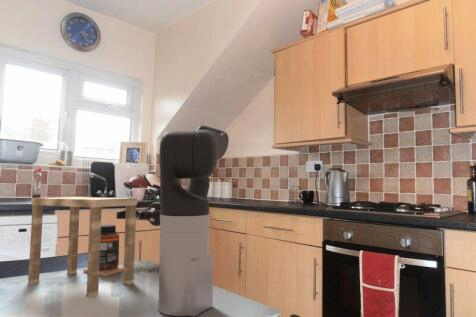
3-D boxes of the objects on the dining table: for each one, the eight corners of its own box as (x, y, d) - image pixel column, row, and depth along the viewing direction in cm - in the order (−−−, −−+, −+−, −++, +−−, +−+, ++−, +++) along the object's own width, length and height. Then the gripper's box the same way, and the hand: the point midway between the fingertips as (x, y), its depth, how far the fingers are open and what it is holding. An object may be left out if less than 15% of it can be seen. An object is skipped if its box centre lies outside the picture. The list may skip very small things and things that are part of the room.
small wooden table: (134, 282, 78) (137, 198, 80) (91, 297, 68) (95, 199, 70) (72, 272, 88) (76, 197, 90) (26, 283, 78) (31, 198, 80)
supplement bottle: (107, 264, 94) (109, 223, 95) (123, 266, 91) (124, 224, 92) (89, 269, 88) (91, 225, 89) (105, 271, 86) (107, 227, 87)
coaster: (128, 269, 91) (128, 266, 91) (105, 276, 84) (105, 273, 84) (108, 266, 95) (108, 263, 95) (83, 272, 88) (83, 269, 88)
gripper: (148, 201, 113) (110, 202, 99) (183, 202, 107) (148, 202, 92) (147, 224, 112) (109, 227, 98) (182, 226, 106) (147, 230, 91)
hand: (128, 215), depth 95 cm, fingers open, 8 cm apart
